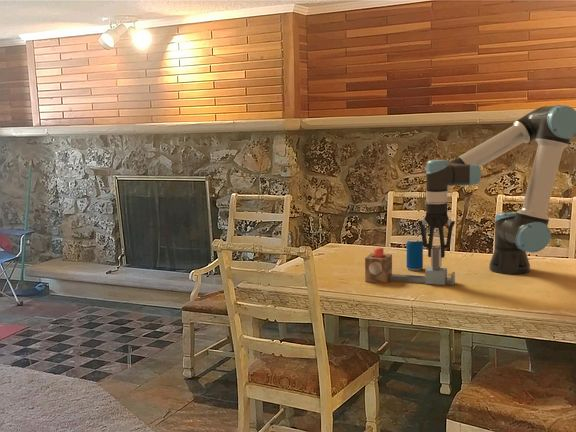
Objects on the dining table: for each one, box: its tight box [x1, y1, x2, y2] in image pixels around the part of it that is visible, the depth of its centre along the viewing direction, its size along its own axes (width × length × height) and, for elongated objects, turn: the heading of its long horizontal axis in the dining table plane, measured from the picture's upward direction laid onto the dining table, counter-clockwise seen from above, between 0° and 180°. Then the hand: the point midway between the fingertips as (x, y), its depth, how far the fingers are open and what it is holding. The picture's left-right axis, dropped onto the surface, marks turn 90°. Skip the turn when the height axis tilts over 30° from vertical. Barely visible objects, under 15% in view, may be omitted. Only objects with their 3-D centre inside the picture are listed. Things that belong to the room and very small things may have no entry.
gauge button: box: [373, 247, 384, 258], centre depth 234 cm, size 4×4×6 cm
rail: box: [388, 271, 456, 287], centre depth 229 cm, size 24×5×4 cm, turn 68°
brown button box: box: [364, 252, 393, 284], centre depth 235 cm, size 8×10×9 cm
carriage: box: [424, 246, 448, 286], centre depth 226 cm, size 7×6×13 cm
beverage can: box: [406, 238, 424, 271], centre depth 249 cm, size 6×6×12 cm
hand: (436, 265), depth 226 cm, fingers closed on carriage, 2 cm apart
